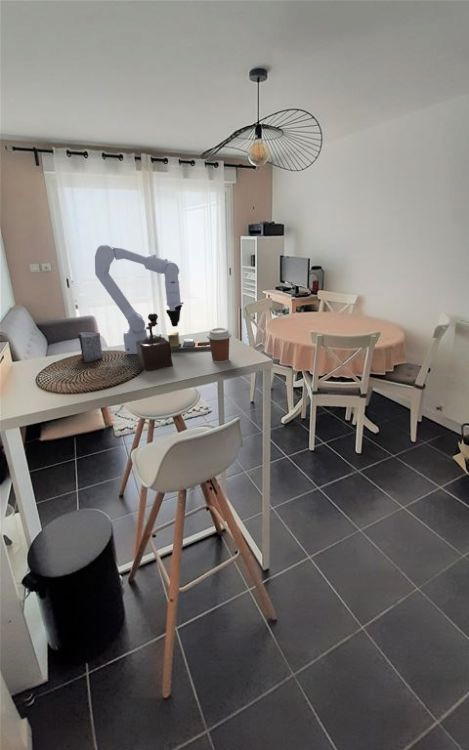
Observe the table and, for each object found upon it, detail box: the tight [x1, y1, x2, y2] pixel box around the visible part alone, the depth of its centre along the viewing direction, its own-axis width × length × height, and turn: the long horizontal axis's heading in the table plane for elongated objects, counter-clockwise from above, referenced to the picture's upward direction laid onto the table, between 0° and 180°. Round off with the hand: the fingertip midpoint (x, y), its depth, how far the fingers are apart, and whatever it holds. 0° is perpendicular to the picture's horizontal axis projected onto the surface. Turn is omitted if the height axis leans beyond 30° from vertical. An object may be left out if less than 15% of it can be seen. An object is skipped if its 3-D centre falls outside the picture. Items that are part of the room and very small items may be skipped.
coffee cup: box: [206, 327, 232, 364], centre depth 136 cm, size 9×9×12 cm
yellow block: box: [167, 331, 181, 348], centre depth 152 cm, size 4×4×7 cm
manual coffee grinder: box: [136, 312, 174, 372], centre depth 136 cm, size 16×11×18 cm
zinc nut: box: [183, 338, 195, 347], centre depth 153 cm, size 4×4×4 cm
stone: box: [77, 331, 105, 363], centre depth 145 cm, size 12×10×10 cm
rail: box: [171, 340, 211, 353], centre depth 153 cm, size 20×7×2 cm, turn 93°
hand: (175, 324), depth 154 cm, fingers open, 7 cm apart
